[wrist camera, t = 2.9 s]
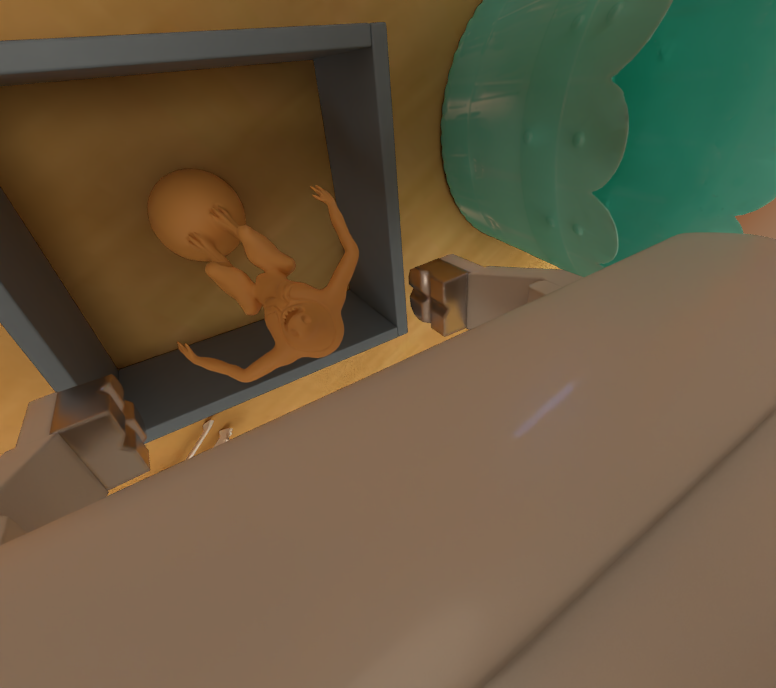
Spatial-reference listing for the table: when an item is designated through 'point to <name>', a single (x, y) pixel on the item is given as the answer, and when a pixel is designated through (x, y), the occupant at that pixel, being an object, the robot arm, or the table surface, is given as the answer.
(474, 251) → the table surface
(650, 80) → the basket
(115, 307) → the table surface
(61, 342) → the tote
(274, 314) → the figurine
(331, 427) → the robot arm
